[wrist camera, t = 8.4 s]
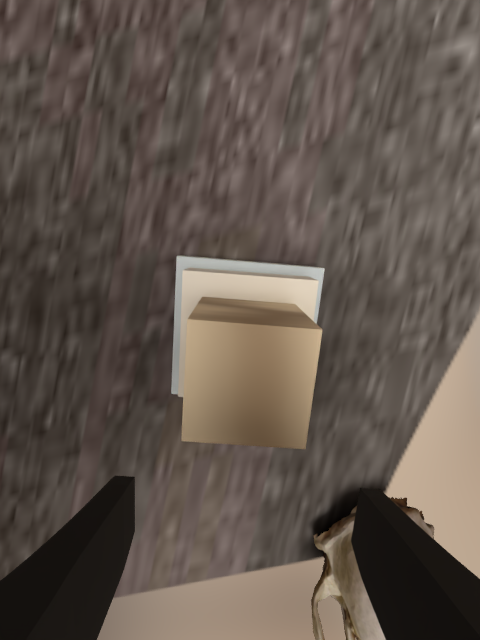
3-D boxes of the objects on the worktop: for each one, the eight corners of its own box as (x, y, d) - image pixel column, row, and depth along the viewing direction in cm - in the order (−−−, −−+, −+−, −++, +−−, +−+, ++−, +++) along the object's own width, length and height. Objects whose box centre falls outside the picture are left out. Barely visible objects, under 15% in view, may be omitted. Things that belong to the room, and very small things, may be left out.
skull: (339, 602, 30) (277, 716, 22) (354, 445, 26) (285, 521, 19) (461, 694, 24) (430, 893, 16) (502, 506, 20) (485, 654, 13)
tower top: (184, 379, 19) (178, 396, 17) (189, 267, 17) (182, 270, 15) (294, 386, 19) (302, 404, 17) (308, 276, 17) (318, 280, 15)
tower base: (177, 378, 21) (171, 393, 19) (183, 254, 19) (176, 256, 17) (298, 387, 21) (305, 403, 19) (314, 266, 20) (324, 268, 17)
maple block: (197, 383, 16) (181, 441, 12) (202, 296, 15) (187, 319, 11) (284, 389, 17) (305, 449, 12) (294, 303, 16) (322, 329, 11)
